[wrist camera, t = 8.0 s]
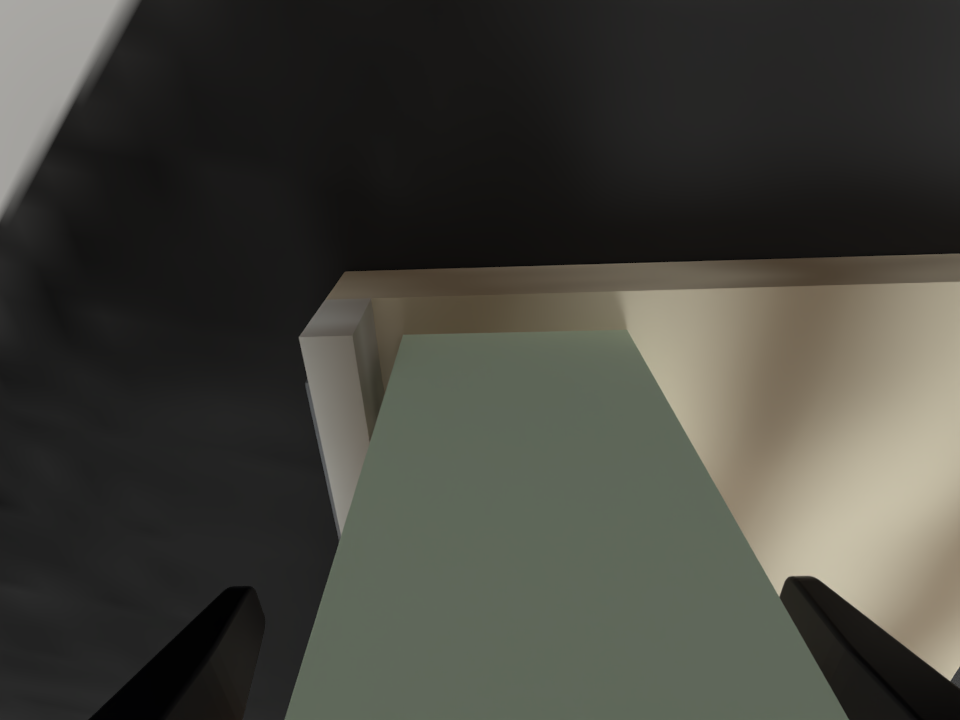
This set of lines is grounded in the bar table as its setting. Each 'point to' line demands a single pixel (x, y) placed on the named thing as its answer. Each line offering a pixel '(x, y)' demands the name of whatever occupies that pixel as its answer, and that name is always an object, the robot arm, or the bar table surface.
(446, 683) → the sage carton
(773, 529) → the shelf board
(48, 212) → the bar table surface
